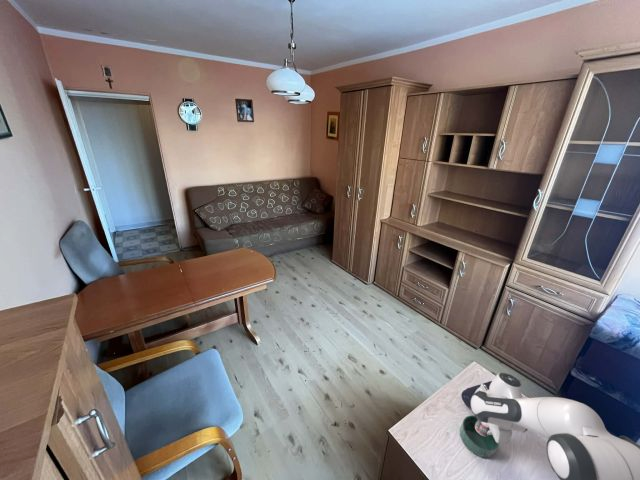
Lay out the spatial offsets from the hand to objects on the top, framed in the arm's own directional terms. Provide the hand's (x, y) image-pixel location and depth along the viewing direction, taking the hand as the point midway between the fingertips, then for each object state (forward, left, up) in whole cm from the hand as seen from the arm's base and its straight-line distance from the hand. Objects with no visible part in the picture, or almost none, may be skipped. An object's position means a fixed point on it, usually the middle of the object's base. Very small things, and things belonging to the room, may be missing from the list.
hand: (484, 424), depth 113 cm
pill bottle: (0, 0, -4) cm, 4 cm away
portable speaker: (+19, -12, -12) cm, 25 cm away
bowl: (0, 0, -12) cm, 12 cm away
